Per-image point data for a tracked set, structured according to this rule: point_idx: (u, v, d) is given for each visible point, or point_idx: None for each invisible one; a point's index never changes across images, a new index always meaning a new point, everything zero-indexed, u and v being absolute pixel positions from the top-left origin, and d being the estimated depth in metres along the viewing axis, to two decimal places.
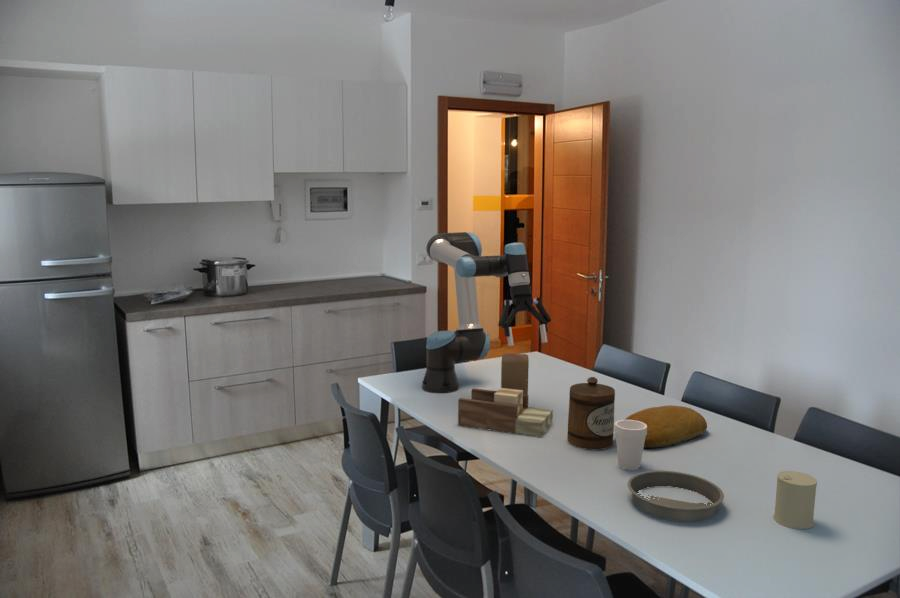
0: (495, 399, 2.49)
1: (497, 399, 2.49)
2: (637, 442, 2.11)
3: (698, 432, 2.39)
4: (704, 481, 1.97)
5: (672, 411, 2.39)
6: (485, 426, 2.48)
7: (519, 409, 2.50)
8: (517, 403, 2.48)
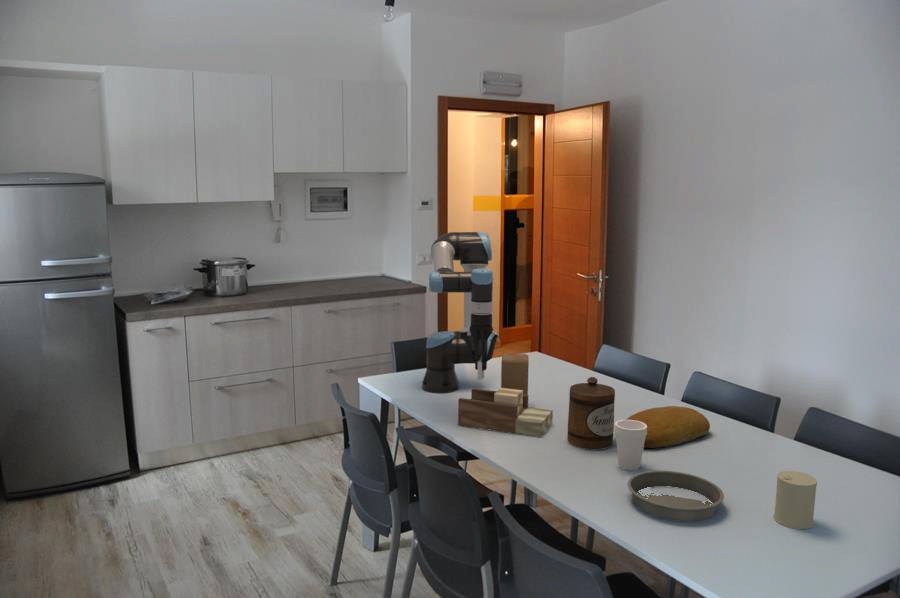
0: (495, 399, 2.49)
1: (497, 399, 2.49)
2: (637, 442, 2.11)
3: (700, 433, 2.38)
4: (704, 481, 1.97)
5: (674, 412, 2.38)
6: (485, 426, 2.48)
7: (519, 409, 2.50)
8: (517, 403, 2.48)
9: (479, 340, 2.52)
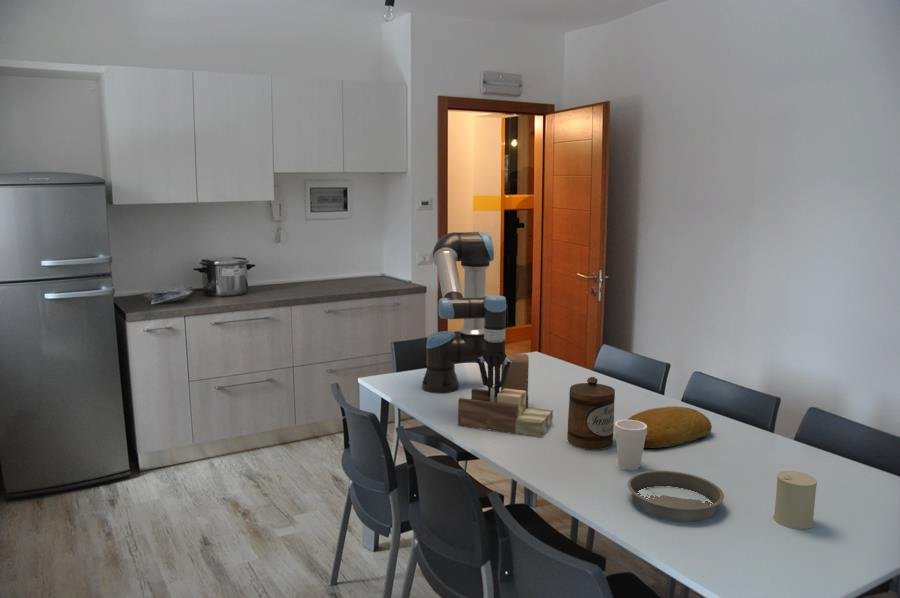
0: (498, 399, 2.48)
1: (500, 399, 2.48)
2: (637, 442, 2.11)
3: (701, 434, 2.38)
4: (704, 481, 1.97)
5: (675, 412, 2.38)
6: (485, 426, 2.48)
7: (522, 409, 2.50)
8: (520, 404, 2.48)
9: (492, 367, 2.52)
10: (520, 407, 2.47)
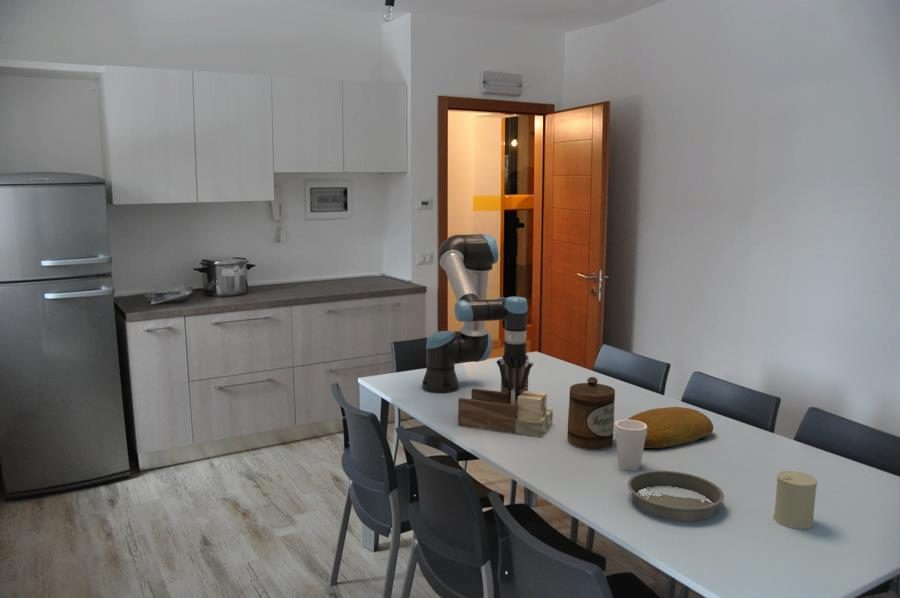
0: (518, 402, 2.45)
1: (520, 402, 2.45)
2: (637, 442, 2.11)
3: (702, 434, 2.37)
4: (704, 481, 1.97)
5: (676, 413, 2.38)
6: (485, 426, 2.48)
7: (543, 412, 2.47)
8: (541, 407, 2.44)
9: (512, 369, 2.49)
10: (541, 410, 2.44)
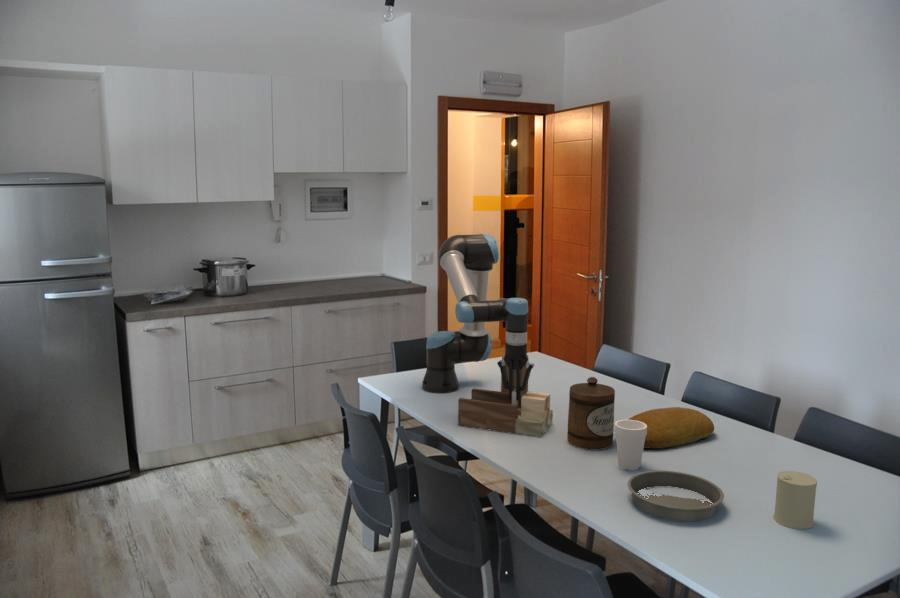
0: (522, 403, 2.45)
1: (524, 402, 2.45)
2: (637, 442, 2.11)
3: (703, 435, 2.37)
4: (704, 481, 1.97)
5: (676, 413, 2.37)
6: (485, 426, 2.48)
7: (546, 413, 2.46)
8: (545, 407, 2.44)
9: (513, 370, 2.49)
10: (545, 410, 2.44)
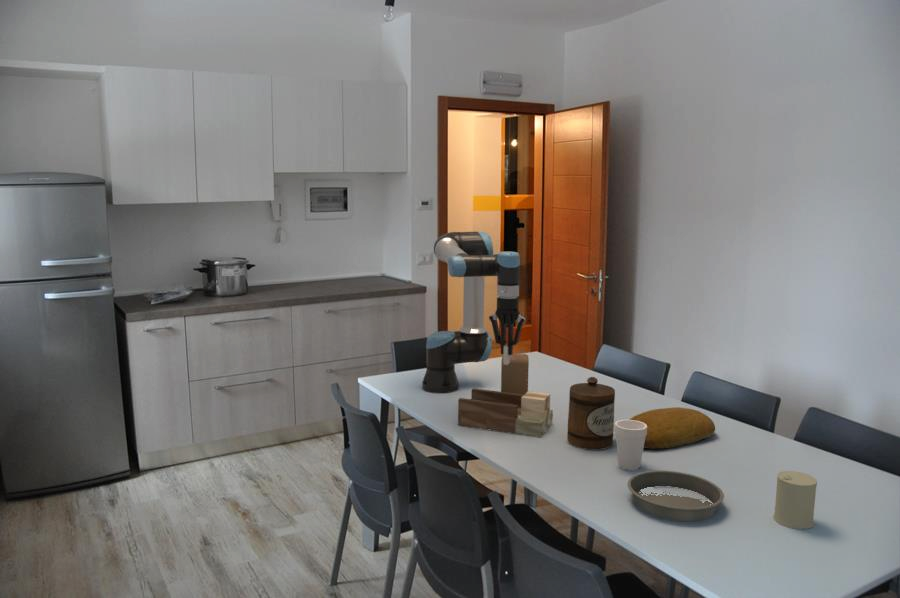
0: (522, 403, 2.45)
1: (524, 402, 2.45)
2: (637, 442, 2.11)
3: (704, 435, 2.36)
4: (704, 481, 1.97)
5: (677, 413, 2.37)
6: (485, 426, 2.48)
7: (546, 413, 2.46)
8: (545, 407, 2.44)
9: (505, 324, 2.48)
10: (545, 410, 2.44)
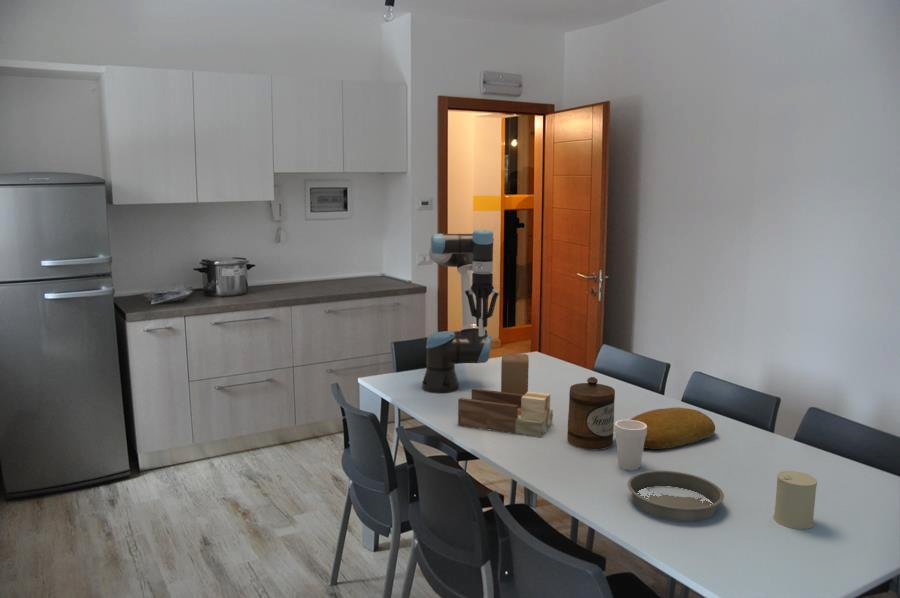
0: (522, 403, 2.45)
1: (524, 402, 2.45)
2: (637, 442, 2.11)
3: (704, 435, 2.37)
4: (704, 481, 1.97)
5: (678, 413, 2.37)
6: (485, 426, 2.48)
7: (546, 413, 2.46)
8: (545, 407, 2.44)
9: (480, 298, 2.64)
10: (545, 410, 2.44)
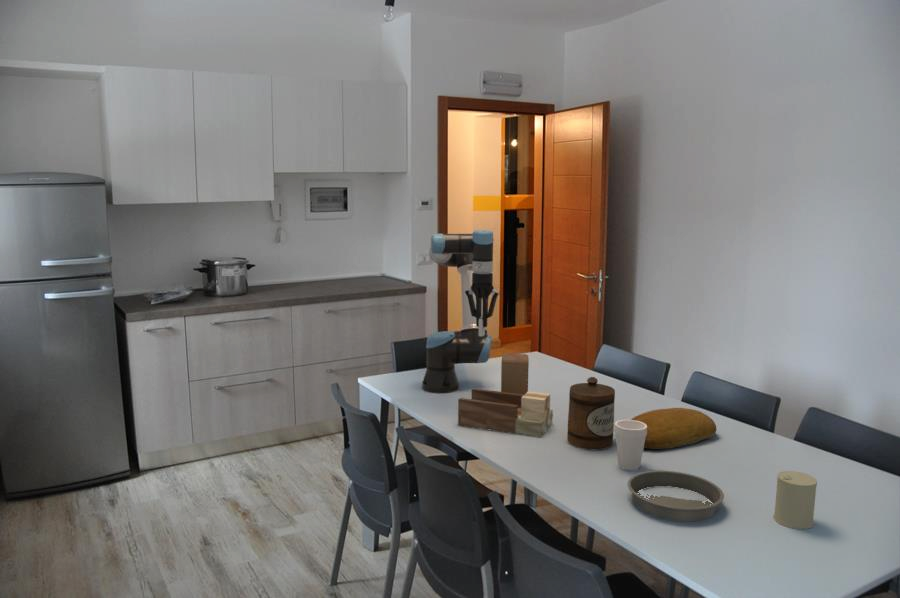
0: (522, 403, 2.45)
1: (524, 402, 2.45)
2: (637, 442, 2.11)
3: (705, 435, 2.36)
4: (704, 481, 1.97)
5: (678, 413, 2.37)
6: (485, 426, 2.48)
7: (546, 413, 2.46)
8: (545, 407, 2.44)
9: (480, 298, 2.64)
10: (545, 410, 2.44)
